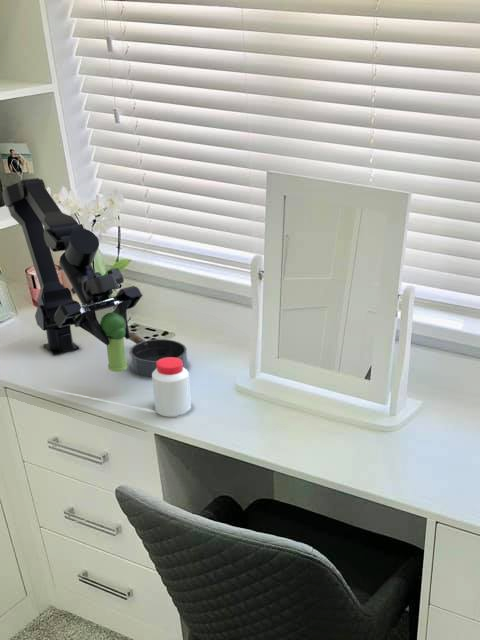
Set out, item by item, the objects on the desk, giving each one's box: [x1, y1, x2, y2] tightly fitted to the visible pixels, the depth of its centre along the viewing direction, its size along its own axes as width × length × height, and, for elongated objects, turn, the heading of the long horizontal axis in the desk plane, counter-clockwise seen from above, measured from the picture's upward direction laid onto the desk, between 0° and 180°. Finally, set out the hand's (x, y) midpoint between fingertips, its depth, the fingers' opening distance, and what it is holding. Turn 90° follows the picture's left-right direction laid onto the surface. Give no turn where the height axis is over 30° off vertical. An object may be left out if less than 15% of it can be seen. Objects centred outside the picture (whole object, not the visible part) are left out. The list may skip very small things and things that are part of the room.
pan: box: [129, 338, 189, 379], centre depth 186 cm, size 13×13×4 cm
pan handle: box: [128, 332, 148, 348], centre depth 191 cm, size 8×2×2 cm, turn 43°
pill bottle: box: [151, 357, 192, 418], centre depth 168 cm, size 8×8×11 cm
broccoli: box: [99, 312, 128, 373], centre depth 168 cm, size 6×5×13 cm
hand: (118, 341), depth 167 cm, fingers closed on broccoli, 4 cm apart
